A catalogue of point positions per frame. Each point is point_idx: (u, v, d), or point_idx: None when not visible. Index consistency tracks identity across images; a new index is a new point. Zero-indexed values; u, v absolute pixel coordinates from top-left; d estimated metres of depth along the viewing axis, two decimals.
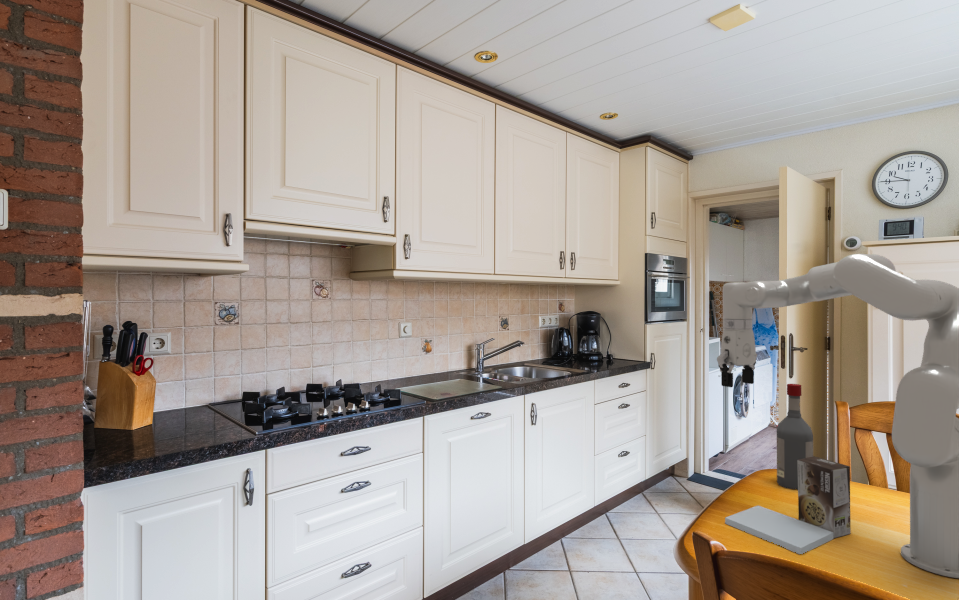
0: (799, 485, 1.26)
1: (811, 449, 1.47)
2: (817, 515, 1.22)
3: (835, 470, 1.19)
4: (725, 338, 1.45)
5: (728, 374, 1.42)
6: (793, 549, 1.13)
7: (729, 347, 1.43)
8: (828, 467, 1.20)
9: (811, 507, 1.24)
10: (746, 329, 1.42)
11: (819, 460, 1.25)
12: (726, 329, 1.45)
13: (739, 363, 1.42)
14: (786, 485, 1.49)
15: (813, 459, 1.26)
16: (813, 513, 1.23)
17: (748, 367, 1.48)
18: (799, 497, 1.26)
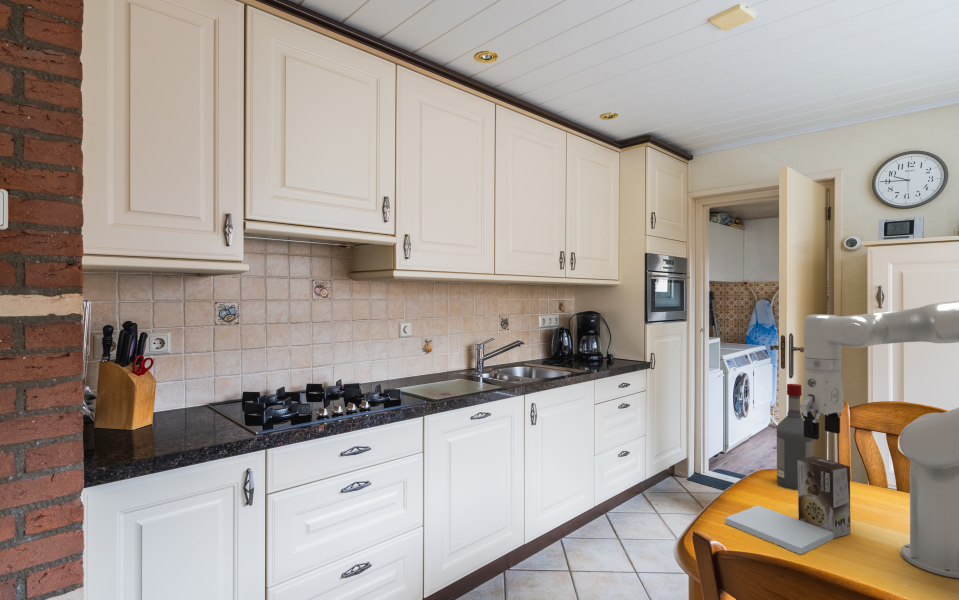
0: (799, 485, 1.26)
1: (811, 449, 1.47)
2: (817, 515, 1.22)
3: (835, 470, 1.19)
4: (809, 381, 1.23)
5: (813, 424, 1.20)
6: (793, 549, 1.13)
7: (815, 392, 1.21)
8: (828, 467, 1.20)
9: (811, 507, 1.24)
10: (835, 371, 1.20)
11: (819, 460, 1.25)
12: (810, 370, 1.23)
13: (827, 411, 1.20)
14: (786, 485, 1.49)
15: (813, 459, 1.26)
16: (813, 513, 1.23)
17: (833, 413, 1.26)
18: (799, 497, 1.26)
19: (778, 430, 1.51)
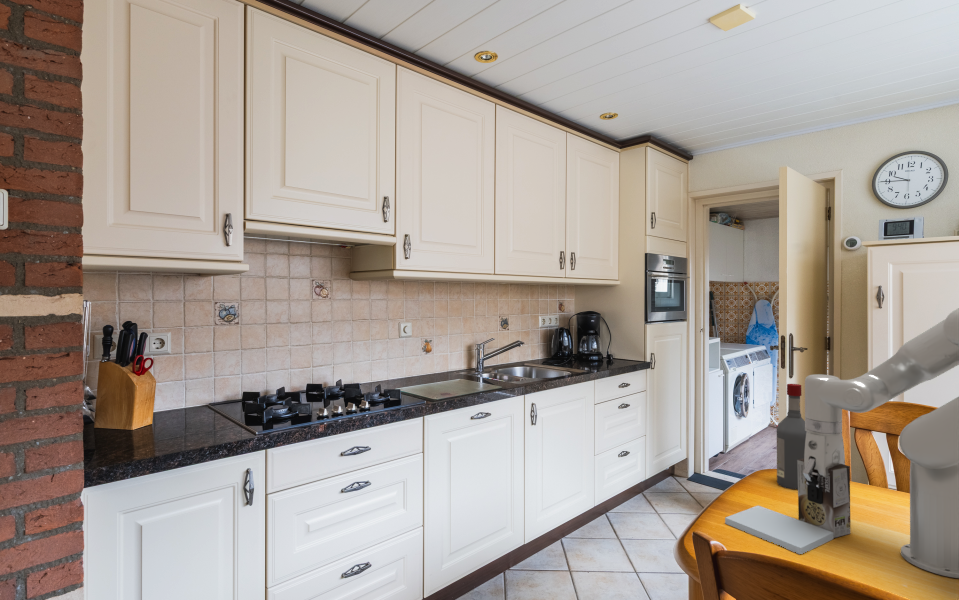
0: (799, 485, 1.26)
1: None
2: (817, 515, 1.22)
3: (835, 470, 1.19)
4: (810, 442, 1.23)
5: (817, 489, 1.21)
6: (793, 549, 1.13)
7: (816, 454, 1.21)
8: None
9: (810, 506, 1.24)
10: (836, 434, 1.20)
11: None
12: (811, 431, 1.23)
13: None
14: (786, 485, 1.49)
15: None
16: (813, 513, 1.23)
17: None
18: (799, 497, 1.26)
19: (778, 430, 1.51)
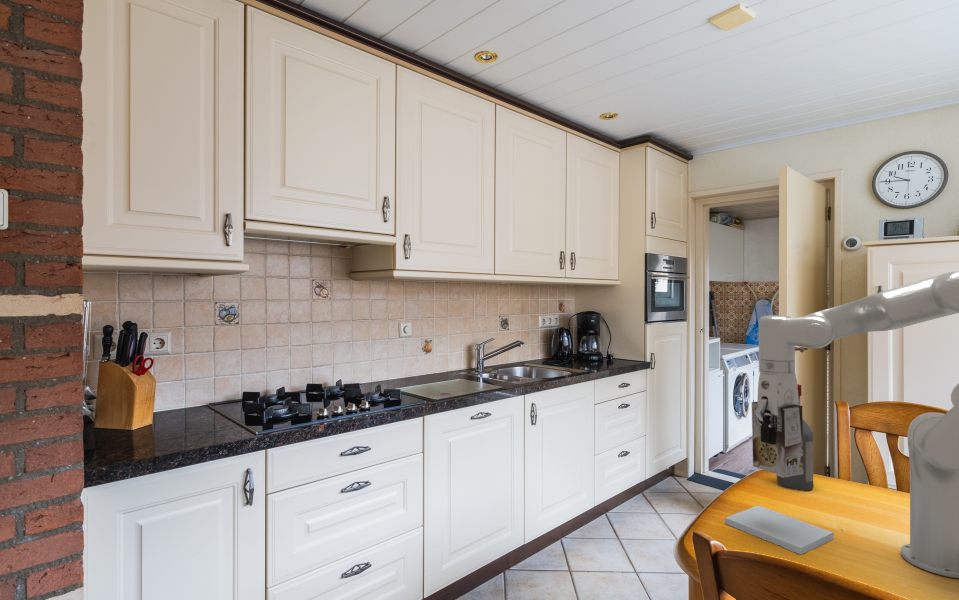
0: (753, 428, 1.25)
1: (811, 449, 1.47)
2: (770, 456, 1.21)
3: (787, 409, 1.18)
4: (762, 383, 1.21)
5: (769, 429, 1.20)
6: (793, 549, 1.13)
7: (768, 394, 1.19)
8: None
9: (764, 448, 1.22)
10: (788, 373, 1.19)
11: None
12: (763, 372, 1.21)
13: None
14: (786, 485, 1.49)
15: None
16: (766, 455, 1.22)
17: None
18: (753, 440, 1.25)
19: None
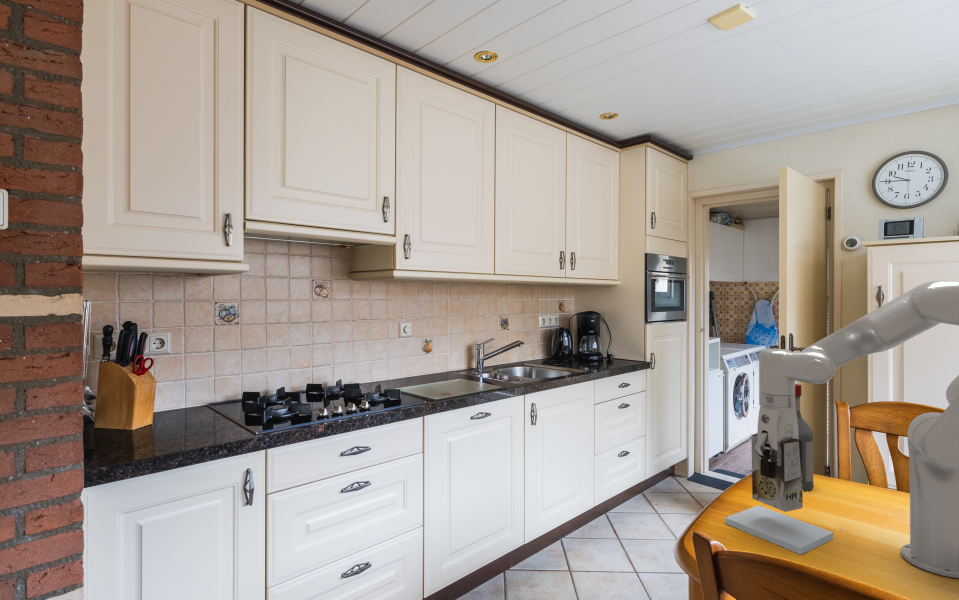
0: (753, 460, 1.25)
1: (811, 449, 1.47)
2: (770, 490, 1.21)
3: (786, 443, 1.18)
4: (762, 416, 1.21)
5: (769, 463, 1.20)
6: (793, 549, 1.13)
7: (768, 428, 1.19)
8: None
9: (763, 481, 1.22)
10: (788, 407, 1.19)
11: None
12: (764, 405, 1.22)
13: None
14: None
15: None
16: (765, 488, 1.22)
17: None
18: (753, 472, 1.25)
19: None
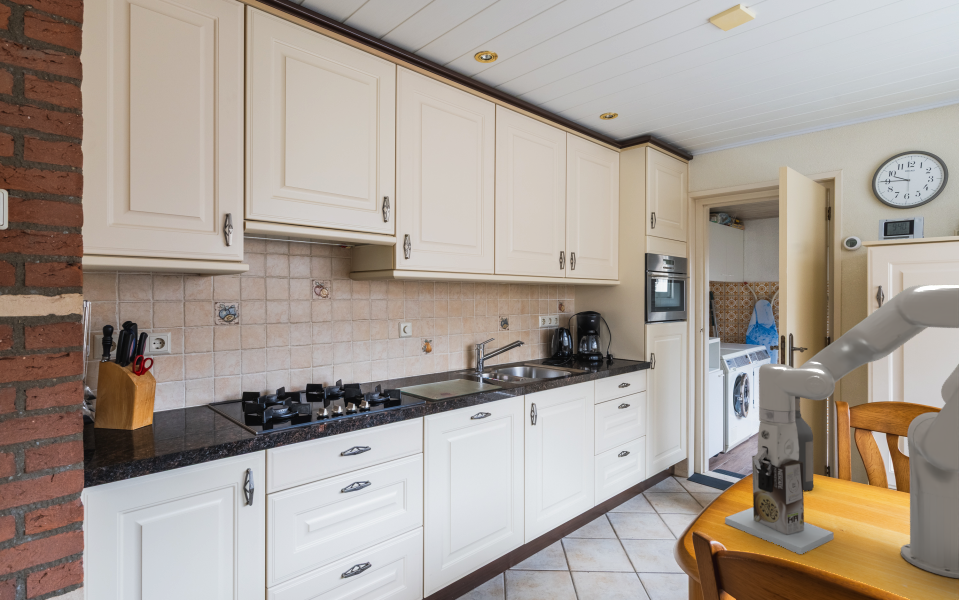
0: (754, 482, 1.25)
1: (811, 449, 1.47)
2: (771, 512, 1.21)
3: (788, 466, 1.18)
4: (763, 432, 1.21)
5: (767, 477, 1.19)
6: (793, 549, 1.13)
7: (768, 444, 1.19)
8: None
9: (765, 503, 1.22)
10: (788, 423, 1.19)
11: None
12: (764, 421, 1.22)
13: (780, 464, 1.18)
14: None
15: None
16: (767, 510, 1.22)
17: None
18: (754, 494, 1.25)
19: None
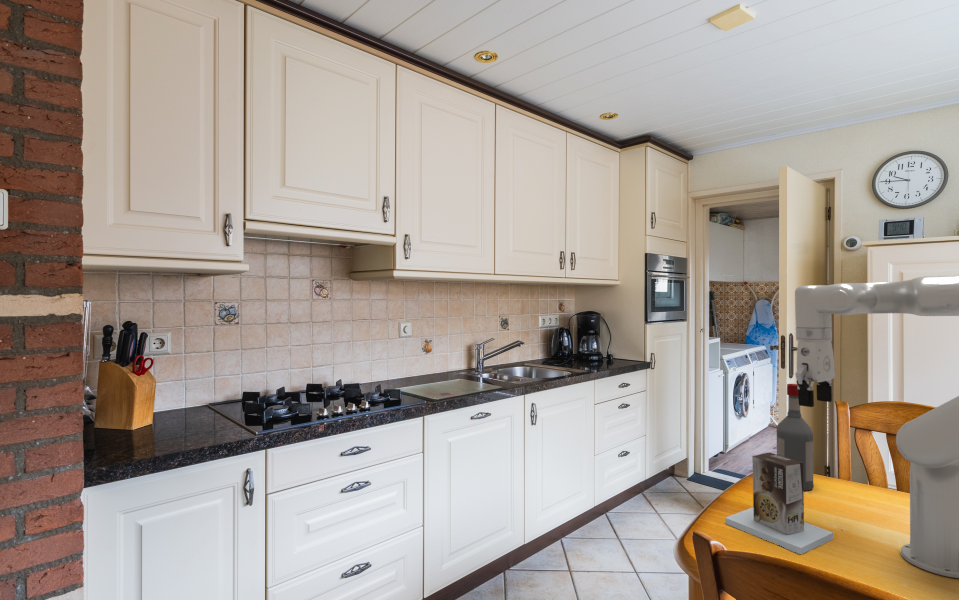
0: (754, 482, 1.25)
1: (811, 449, 1.47)
2: (771, 512, 1.21)
3: (788, 466, 1.18)
4: (802, 350, 1.25)
5: (808, 392, 1.23)
6: (793, 549, 1.13)
7: (808, 360, 1.23)
8: (781, 463, 1.19)
9: (765, 503, 1.22)
10: (827, 339, 1.23)
11: (774, 456, 1.24)
12: (802, 339, 1.25)
13: (820, 379, 1.22)
14: None
15: (768, 455, 1.25)
16: (767, 510, 1.22)
17: (824, 383, 1.29)
18: (754, 494, 1.25)
19: (778, 430, 1.51)
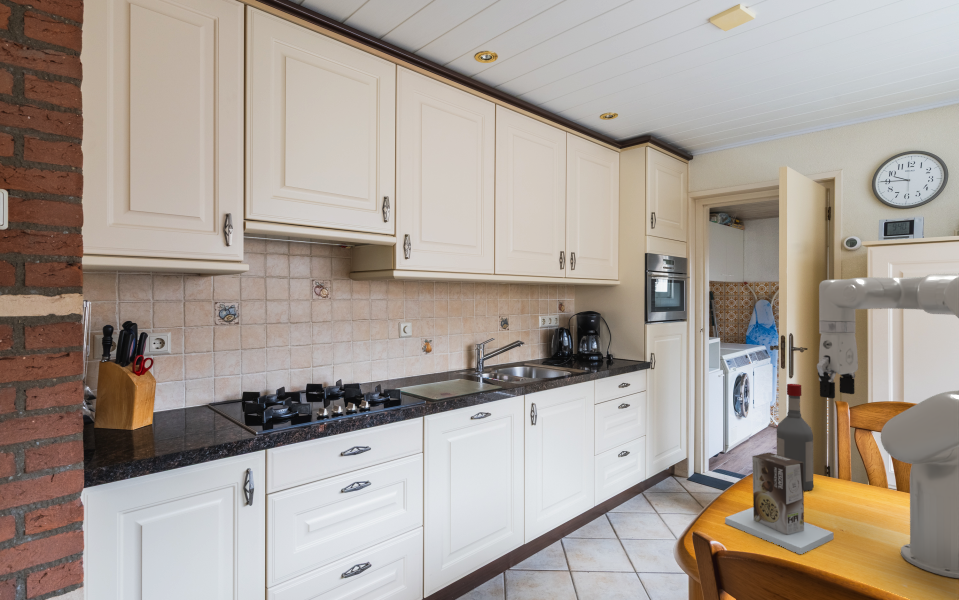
0: (754, 482, 1.25)
1: (811, 449, 1.47)
2: (771, 512, 1.21)
3: (788, 466, 1.18)
4: (824, 343, 1.28)
5: (829, 384, 1.26)
6: (793, 549, 1.13)
7: (830, 353, 1.26)
8: (781, 463, 1.19)
9: (765, 503, 1.22)
10: (850, 332, 1.25)
11: (774, 456, 1.24)
12: (825, 332, 1.28)
13: (842, 371, 1.25)
14: None
15: (768, 455, 1.25)
16: (767, 510, 1.22)
17: (847, 375, 1.31)
18: (754, 494, 1.25)
19: (778, 430, 1.51)
